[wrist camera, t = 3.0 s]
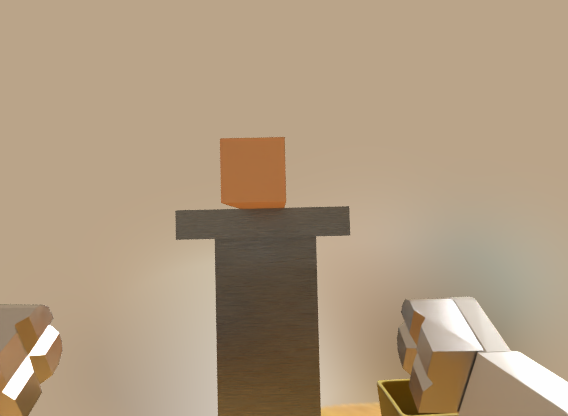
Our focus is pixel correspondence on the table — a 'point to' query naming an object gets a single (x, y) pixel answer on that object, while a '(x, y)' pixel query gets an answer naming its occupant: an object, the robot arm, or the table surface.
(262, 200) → the orange-brown square bar
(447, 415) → the flower pot
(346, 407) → the table surface
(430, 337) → the robot arm
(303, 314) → the pedestal
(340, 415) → the table surface
